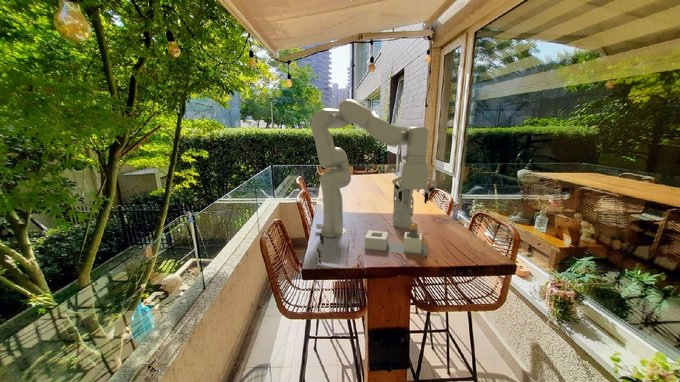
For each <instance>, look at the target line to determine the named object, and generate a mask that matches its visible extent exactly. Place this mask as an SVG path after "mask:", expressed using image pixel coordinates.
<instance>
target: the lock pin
mask: <svg viewBox="0 0 680 382" xmlns="http://www.w3.org/2000/svg"><path fill="white" fill-rule="evenodd" d="M418 226H419V225H418V223H416V222H413V223H411V224H410V228H409V232H410V237H409V238H417V233H418Z"/></svg>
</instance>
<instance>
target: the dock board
mask: <svg viewBox="0 0 680 382" xmlns="http://www.w3.org/2000/svg"><path fill="white" fill-rule="evenodd" d="M409 237H410V231H408V232H407V231H405V232H404V237H403V243H402V242H401V243H400V242H390V241H389V231H380V230H370V229H369V230H367V233H366V234H365V237H364V244H363V246H362V248H361V250H368V251H378V252H385V253H386V252H387V253H397V254H405V255H406V254H407V255H414V256H415V255H416V256H425V257H424V258H425V259H427V246H426V245H423V244H422V240H423V239H422V237H423V236H422V233H421V232H417V238H409Z"/></svg>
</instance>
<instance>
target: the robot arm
mask: <svg viewBox="0 0 680 382" xmlns="http://www.w3.org/2000/svg"><path fill="white" fill-rule="evenodd" d="M352 124H354V125H355V126H358V127H359V128H362V130H365V132H367V134H369V135H370V136H371V137H372V138H374V139H375V140H377V141H379V142H381V143H383V144H384V145H387V146H390V147H396V146H397V147H399V146H406V154H405V155H402V160H404V161H405V162H403V164H402V169H401V176H399V177H396V178H394V179H392V185H393V188H394V187H395V188H396V189H397V190H398V192H399V194H398V199H400V202H401V201H402V189H403V188H410V189H414V190H424V191H425V192H424V204H425V205H427V202H429V199H430V193H432V192H433V191H435V188H436V187H437V186H438V182H437V181H435V180H433V179H432V178H431V177H429V164H428V163H427V152H428V142H429V129H428V127H425V126H411V127H407V126H402V125H400V126H398V125H393V124H391V123H389V122H387V121H385V120H383V119H382V118H380V117H379V116H378V114H377V112H376V111H375V110H373V109H371V108H370V107H367V106H366V104H364V103H363V101H360V100H355V99H349V98H348V99H344V100H343V101H342V102H340V104H339V106H338V109H335V108H320V109H318V110H316V111H315V112H314V114H313V115H312V117H311V122H310V128H311V132H312V135H313V139H314V142H315V149H316V152H317V158H318V161H319V165H320V166H321V167H322V168H325V169H330V168H332V170H328V171H326V172H324V173H323V174H322V175H321V177H320V181H319V182H320V183H319V184H320V188H321V192H322V193H321V194H322V206H323V207H322V208H323V212H322V213H323V223H322V224H321V223H316V227H315V228H316V229H318V230H321V231H320V234H321V236H322V237H324V238H325V237H326V238H334V239H335V238H337V237H339V236H342V235H345V234H346V232H347V230H346V228H344V224H343V223H344V222H343V221H344V219H343V217H344V216H343V212H344V211H343V208H344V207H343V195H342V193H341V189H343V188H345V187H347V186H349V185H350V184H351V181H352V174H351V169H350V165H349V159H348V154H347V152H346V151H345V150H344V149H343V148H341V147H337V146H335V143H334V139H333V135H332V134H331V132H330V131H329V129H331V128H332V129H340V128H341V129H342V128H344V127H346V126H349V125H352ZM398 181H401V186H400V187H399V186H398ZM429 183H430V184H432V186H431V187H429V188H428V186H429Z"/></svg>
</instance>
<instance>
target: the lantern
mask: <svg viewBox="0 0 680 382" xmlns="http://www.w3.org/2000/svg"><path fill="white" fill-rule="evenodd" d="M397 185H398V186H399V187H400V186H401V180H400V181H398V182H397ZM414 190H415V189H410V188H403V189H402V201H401V202H400V199H398V194H399V192H398V190H397V189H396V188H395V187H394V186H393V199H392V201H393V212H392V223H393V226H394V227H396V228H397V227H398V229H410V224H411V223H414V222H413V219H412V217H413V215H414V201H415V200H414V196H413V194H414Z"/></svg>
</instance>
